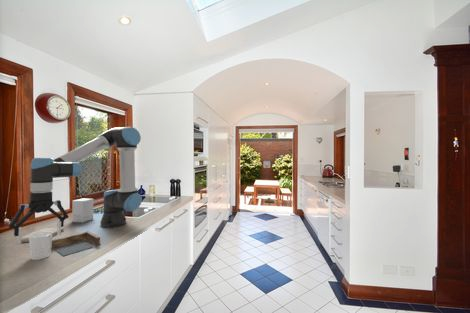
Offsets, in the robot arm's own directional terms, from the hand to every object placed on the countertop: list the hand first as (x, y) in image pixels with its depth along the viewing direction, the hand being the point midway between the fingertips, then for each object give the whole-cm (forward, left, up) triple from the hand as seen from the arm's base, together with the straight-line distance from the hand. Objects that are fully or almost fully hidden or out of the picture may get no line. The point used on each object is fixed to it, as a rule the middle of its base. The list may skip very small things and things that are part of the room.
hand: (40, 238), depth 96 cm
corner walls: (-14, 0, -8) cm, 16 cm away
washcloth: (-8, -31, -9) cm, 33 cm away
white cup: (0, 0, -9) cm, 9 cm away
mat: (-12, +2, -8) cm, 15 cm away
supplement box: (-33, -47, -9) cm, 58 cm away
